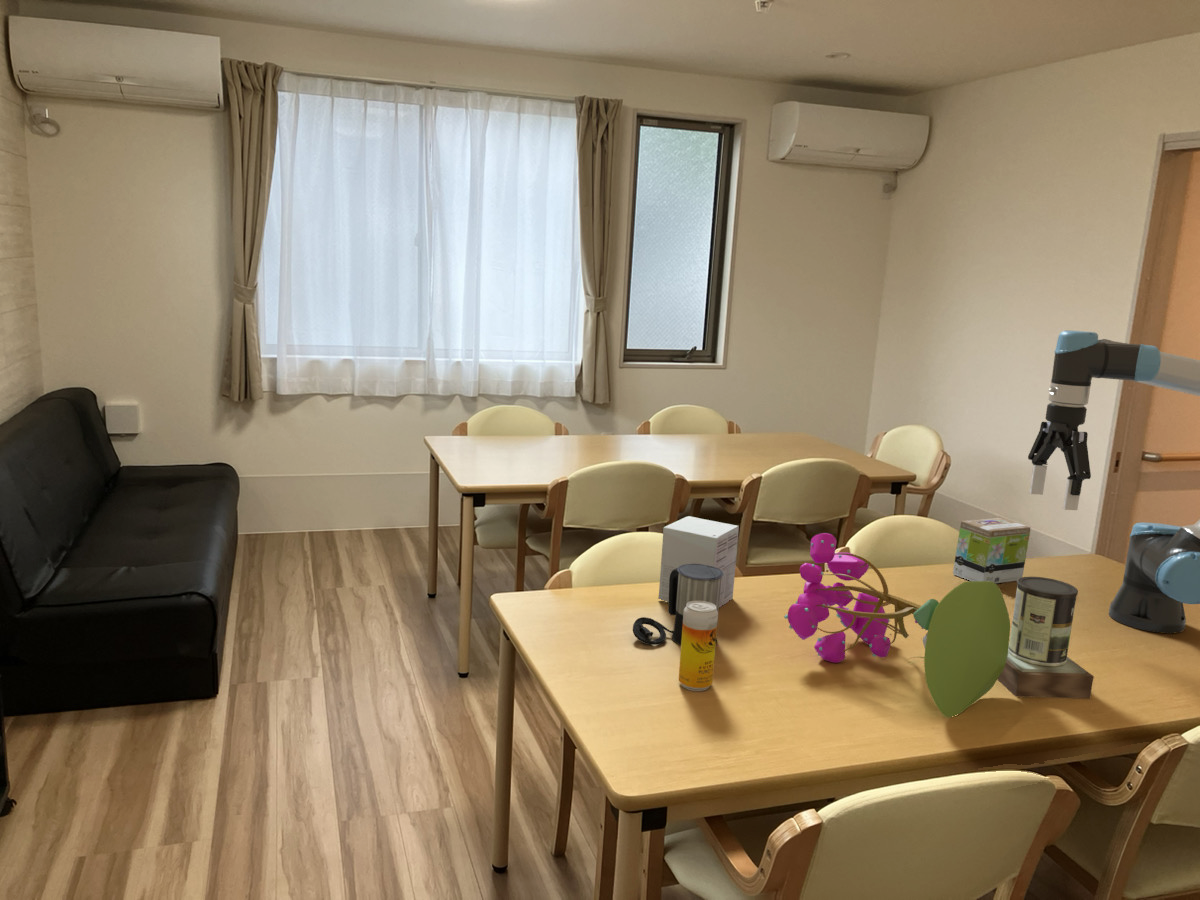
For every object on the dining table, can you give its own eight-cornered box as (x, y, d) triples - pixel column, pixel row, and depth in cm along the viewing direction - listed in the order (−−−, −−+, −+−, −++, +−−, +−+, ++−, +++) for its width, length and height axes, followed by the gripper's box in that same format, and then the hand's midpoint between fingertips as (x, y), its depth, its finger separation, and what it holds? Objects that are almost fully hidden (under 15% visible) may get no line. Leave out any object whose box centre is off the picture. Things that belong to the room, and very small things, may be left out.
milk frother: (727, 642, 183) (733, 572, 180) (676, 662, 172) (682, 588, 169) (673, 620, 193) (678, 554, 190) (622, 638, 182) (627, 568, 179)
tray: (1049, 666, 180) (1052, 642, 179) (1089, 698, 166) (1094, 673, 165) (980, 664, 179) (983, 640, 178) (1015, 696, 165) (1019, 670, 164)
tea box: (983, 587, 227) (991, 530, 224) (951, 574, 236) (958, 520, 233) (1023, 580, 234) (1031, 525, 231) (991, 569, 243) (998, 515, 240)
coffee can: (1057, 648, 176) (1068, 579, 173) (1073, 670, 166) (1085, 597, 163) (1001, 641, 178) (1011, 573, 175) (1014, 662, 168) (1024, 590, 165)
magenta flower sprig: (938, 545, 151) (777, 524, 179) (914, 717, 149) (755, 668, 176) (1026, 565, 169) (868, 542, 197) (1006, 718, 167) (848, 674, 195)
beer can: (703, 695, 159) (709, 614, 156) (672, 686, 162) (678, 606, 159) (717, 683, 164) (724, 605, 161) (687, 674, 167) (693, 597, 164)
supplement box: (734, 598, 209) (740, 525, 205) (710, 615, 198) (717, 537, 194) (682, 586, 215) (687, 514, 212) (656, 601, 204) (662, 526, 201)
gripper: (1020, 395, 204) (1007, 487, 208) (1084, 412, 179) (1067, 515, 183) (1052, 397, 204) (1038, 488, 208) (1120, 414, 180) (1103, 517, 184)
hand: (1052, 501), depth 196 cm, fingers open, 13 cm apart
